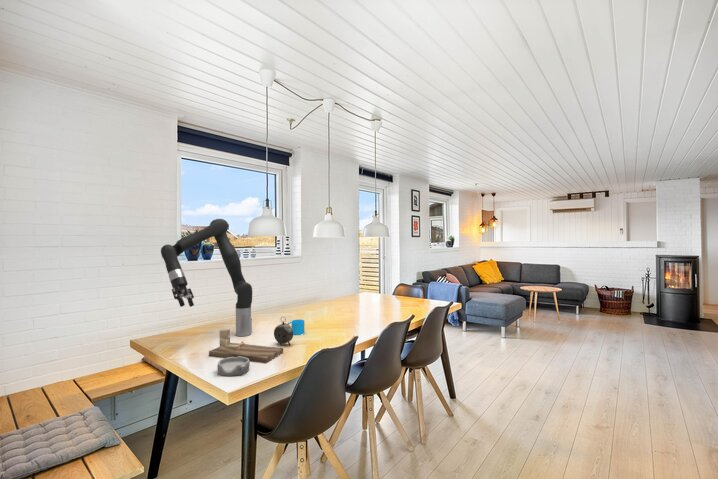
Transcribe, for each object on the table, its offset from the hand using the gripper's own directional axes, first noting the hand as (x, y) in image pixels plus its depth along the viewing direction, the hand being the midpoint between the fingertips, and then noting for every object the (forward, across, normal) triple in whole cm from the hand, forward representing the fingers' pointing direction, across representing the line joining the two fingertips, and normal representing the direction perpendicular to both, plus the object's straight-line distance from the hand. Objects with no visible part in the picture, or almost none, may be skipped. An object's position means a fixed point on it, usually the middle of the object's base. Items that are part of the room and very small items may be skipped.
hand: (187, 306), depth 187 cm
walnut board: (+37, +3, -19) cm, 42 cm away
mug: (+36, +44, -35) cm, 67 cm away
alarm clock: (+40, +20, -33) cm, 56 cm away
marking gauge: (+30, +6, -13) cm, 33 cm away
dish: (+43, -19, -20) cm, 51 cm away
